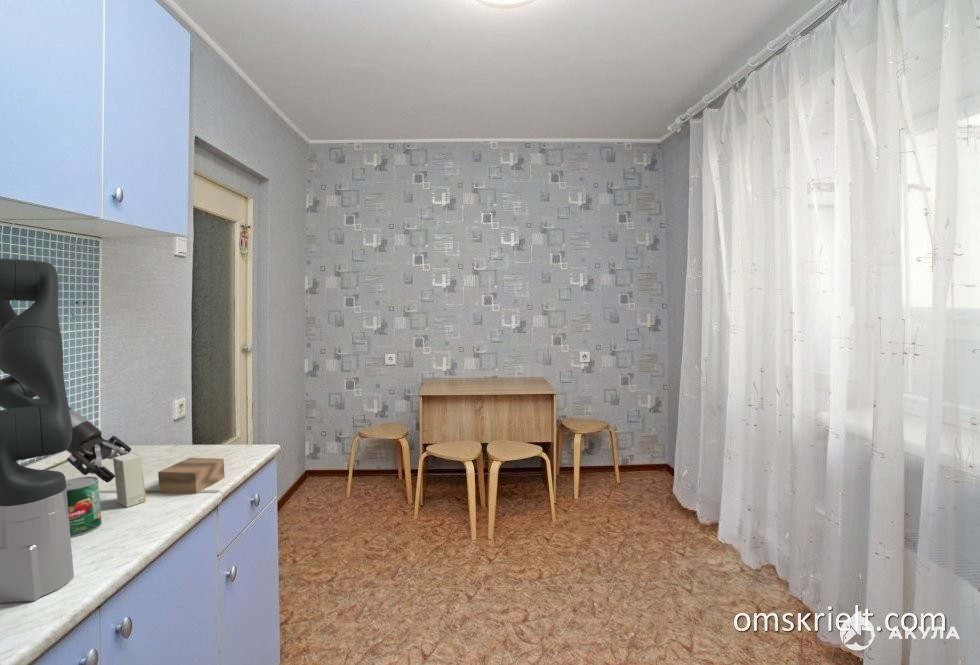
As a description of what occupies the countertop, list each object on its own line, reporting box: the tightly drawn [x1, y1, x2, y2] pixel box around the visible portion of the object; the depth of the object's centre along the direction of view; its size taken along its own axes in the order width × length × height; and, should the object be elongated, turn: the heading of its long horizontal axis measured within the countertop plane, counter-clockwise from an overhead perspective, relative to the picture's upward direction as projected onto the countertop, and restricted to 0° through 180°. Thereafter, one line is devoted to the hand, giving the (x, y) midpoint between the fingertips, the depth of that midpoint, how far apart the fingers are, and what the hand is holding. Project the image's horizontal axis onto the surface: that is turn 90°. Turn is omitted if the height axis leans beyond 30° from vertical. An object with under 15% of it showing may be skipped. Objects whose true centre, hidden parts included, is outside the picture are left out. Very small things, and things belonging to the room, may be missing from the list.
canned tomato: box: [66, 476, 103, 538], centre depth 104 cm, size 8×8×11 cm
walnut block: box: [157, 457, 226, 495], centre depth 129 cm, size 11×11×6 cm
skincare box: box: [112, 452, 147, 508], centre depth 118 cm, size 6×4×12 cm
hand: (123, 473), depth 118 cm, fingers open, 8 cm apart
